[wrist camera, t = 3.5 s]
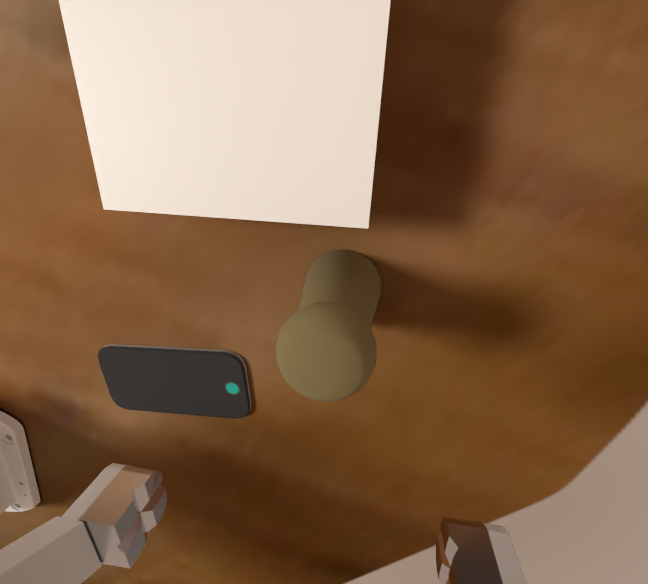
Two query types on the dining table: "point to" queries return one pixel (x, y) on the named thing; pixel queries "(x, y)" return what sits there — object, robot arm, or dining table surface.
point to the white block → (232, 105)
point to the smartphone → (177, 380)
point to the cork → (332, 328)
